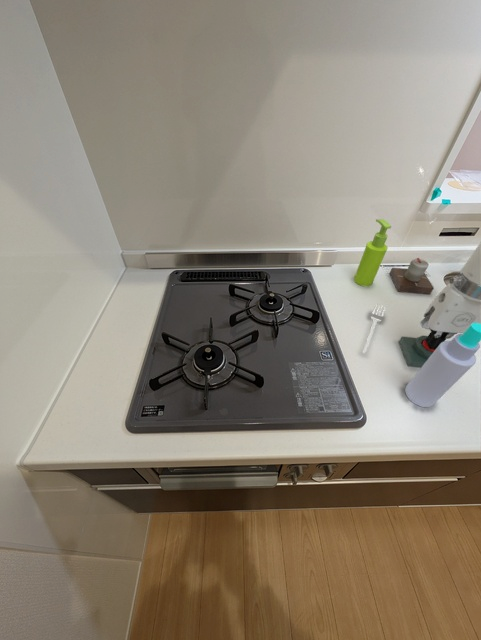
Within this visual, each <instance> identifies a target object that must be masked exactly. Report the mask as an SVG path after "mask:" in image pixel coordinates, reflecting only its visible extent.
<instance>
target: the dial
mask: <svg viewBox="0 0 481 640" xmlns="http://www.w3.org/2000/svg"><path fill="white" fill-rule="evenodd" d="M428 267H429V262H428V261H426V260H424V259H422V258H419V257H417V258H413V259H412V260H411V261H410V263H409V265H408V267H407V268H406V269H407V271H406V273H405V275H404V276H405V278H406V279H408V280H410V281H413V282H418V281H420V279H421V278H422V276H423V274H424V273H425V274H426V270H427V269H428Z"/></svg>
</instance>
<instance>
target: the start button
mask: <svg viewBox="0 0 481 640" xmlns="http://www.w3.org/2000/svg"><path fill="white" fill-rule="evenodd" d="M422 346H423V347H424V348H425V349H426V350H428V351H431V352H434V351H435V350H434V349H429V347H428V345H427V343H426V340H424V341H423V343H422Z"/></svg>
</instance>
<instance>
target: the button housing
mask: <svg viewBox="0 0 481 640" xmlns="http://www.w3.org/2000/svg"><path fill="white" fill-rule="evenodd" d="M427 337H428V335H420V336H418V337H411V336H401V337H400V338H399V340H398V345H399V347H400V350H401V352H402V355H403V359H404V360H405V363H406V365H407V367H411V368H419V369H420V368H421V367H422V366H423V365H424V363H425V362H426V361H427V360H428V358H429V357H430V356H431V355H432V353H433V352H431V351H428V350H426V349H425V348H424V347H423V346H422V343H423V341H424V340H426V338H427Z"/></svg>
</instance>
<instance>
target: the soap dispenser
mask: <svg viewBox="0 0 481 640" xmlns="http://www.w3.org/2000/svg"><path fill="white" fill-rule="evenodd" d="M375 222H376V223H378V224H379V225H380V226H381V227H380V229H379V231H378V232H375V234H374V237H373V240H370V241H368V242H366V246H365V248H364V250H363V253H362V256H361V259H360V262H359V264H358V267H357V270H356V273H355V275H354V278H353V281H354V283H355V284H357V285H358V286H361V287H371V286H372V285H373V283H374V281H375V278H376V277H377V275H378V271H379V269H380V267H381V265H382V262H383V260H384V257H385V255H386V253H387V251H388V246H387V244H386V241H387V239H388V235H387V231H388V229H389V230H390V229H391V228H392V226H391V224H390V223H389V222H388V221H387V220H385V219H382V218H380V219H379V218H378V219H375Z"/></svg>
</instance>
